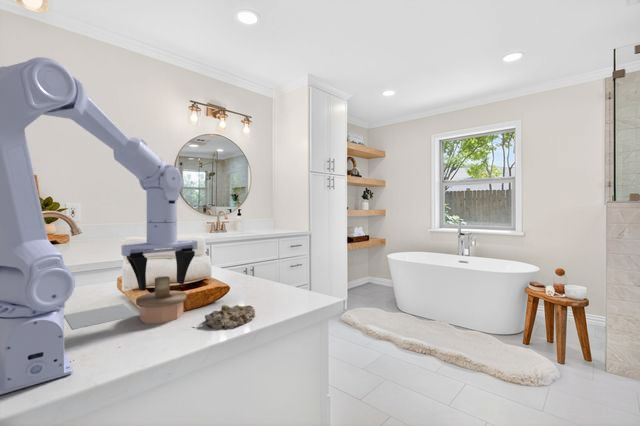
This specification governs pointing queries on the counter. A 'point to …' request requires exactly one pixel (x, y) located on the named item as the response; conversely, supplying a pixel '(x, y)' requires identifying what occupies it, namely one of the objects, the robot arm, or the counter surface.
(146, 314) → the bowl
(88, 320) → the mat
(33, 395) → the counter surface
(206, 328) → the counter surface
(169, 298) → the lid
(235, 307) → the mineral rock
